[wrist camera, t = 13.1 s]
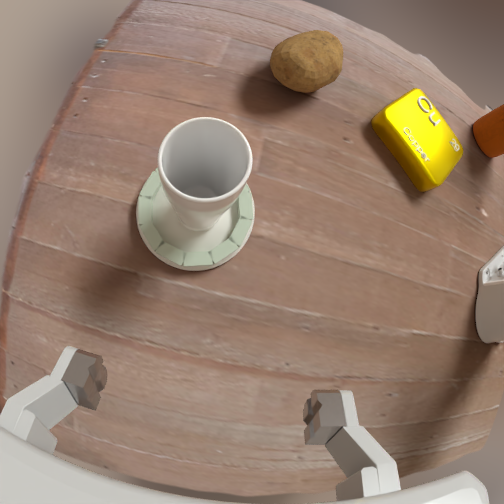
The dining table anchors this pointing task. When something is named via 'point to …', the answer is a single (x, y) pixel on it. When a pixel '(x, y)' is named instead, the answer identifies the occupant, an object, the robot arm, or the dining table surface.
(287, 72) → the potato
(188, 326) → the dining table surface
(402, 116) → the element tile
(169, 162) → the drinking glass
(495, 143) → the wine bottle
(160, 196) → the green rimmed plate
